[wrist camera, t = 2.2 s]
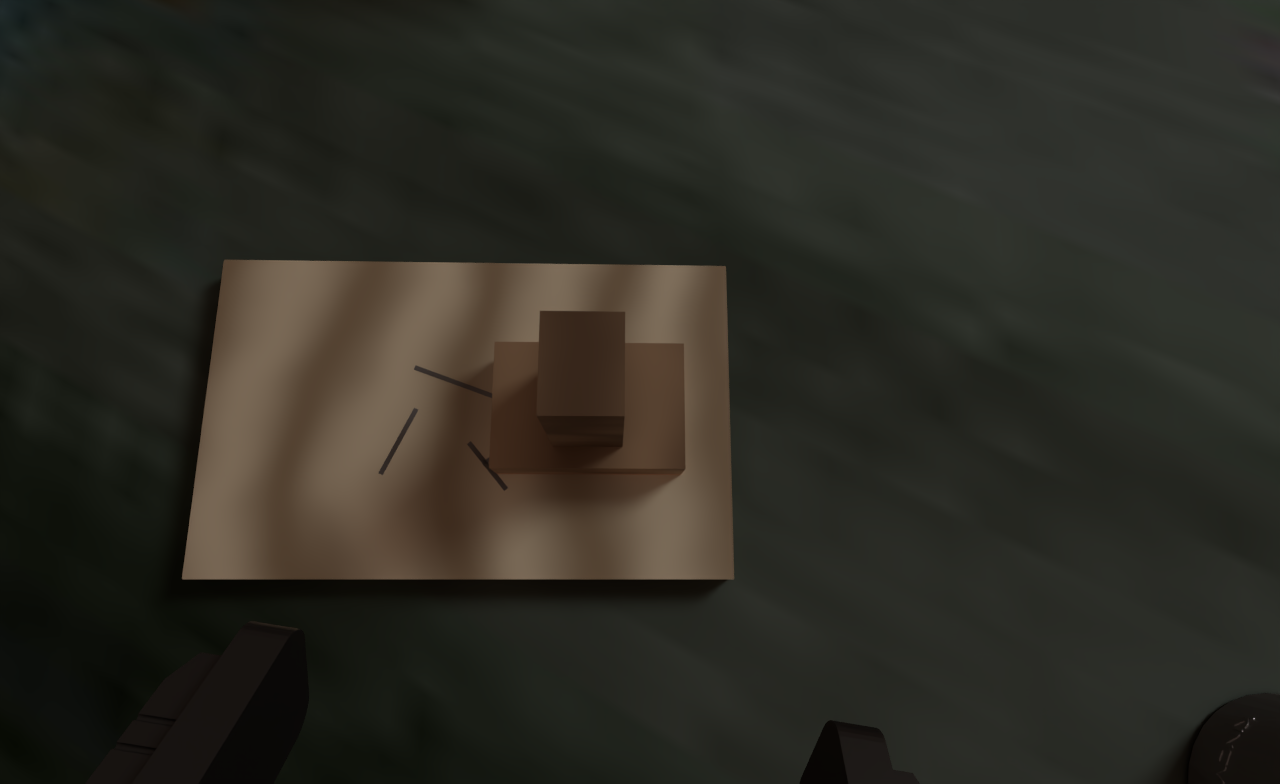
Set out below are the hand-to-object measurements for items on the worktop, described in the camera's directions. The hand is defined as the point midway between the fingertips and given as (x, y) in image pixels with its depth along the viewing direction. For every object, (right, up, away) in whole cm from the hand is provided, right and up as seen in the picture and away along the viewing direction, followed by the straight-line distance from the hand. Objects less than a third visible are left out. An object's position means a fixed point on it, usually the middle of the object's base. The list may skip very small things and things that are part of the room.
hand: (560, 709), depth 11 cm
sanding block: (-1, +4, +26) cm, 26 cm away
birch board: (-7, +3, +27) cm, 28 cm away
